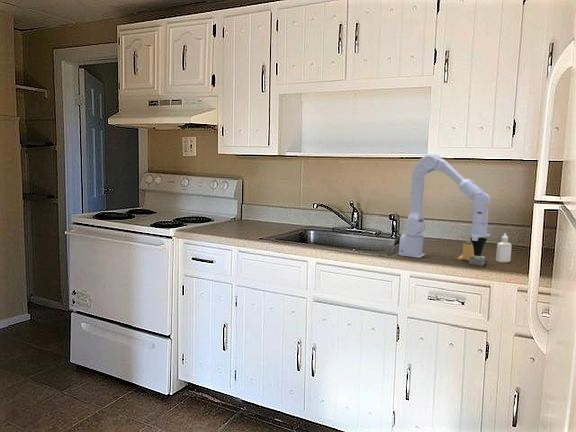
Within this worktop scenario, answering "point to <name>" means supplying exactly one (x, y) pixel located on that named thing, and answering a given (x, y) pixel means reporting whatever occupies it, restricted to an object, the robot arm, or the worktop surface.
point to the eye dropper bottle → (503, 250)
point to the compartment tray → (465, 258)
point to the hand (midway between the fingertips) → (477, 255)
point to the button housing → (477, 261)
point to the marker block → (467, 250)
